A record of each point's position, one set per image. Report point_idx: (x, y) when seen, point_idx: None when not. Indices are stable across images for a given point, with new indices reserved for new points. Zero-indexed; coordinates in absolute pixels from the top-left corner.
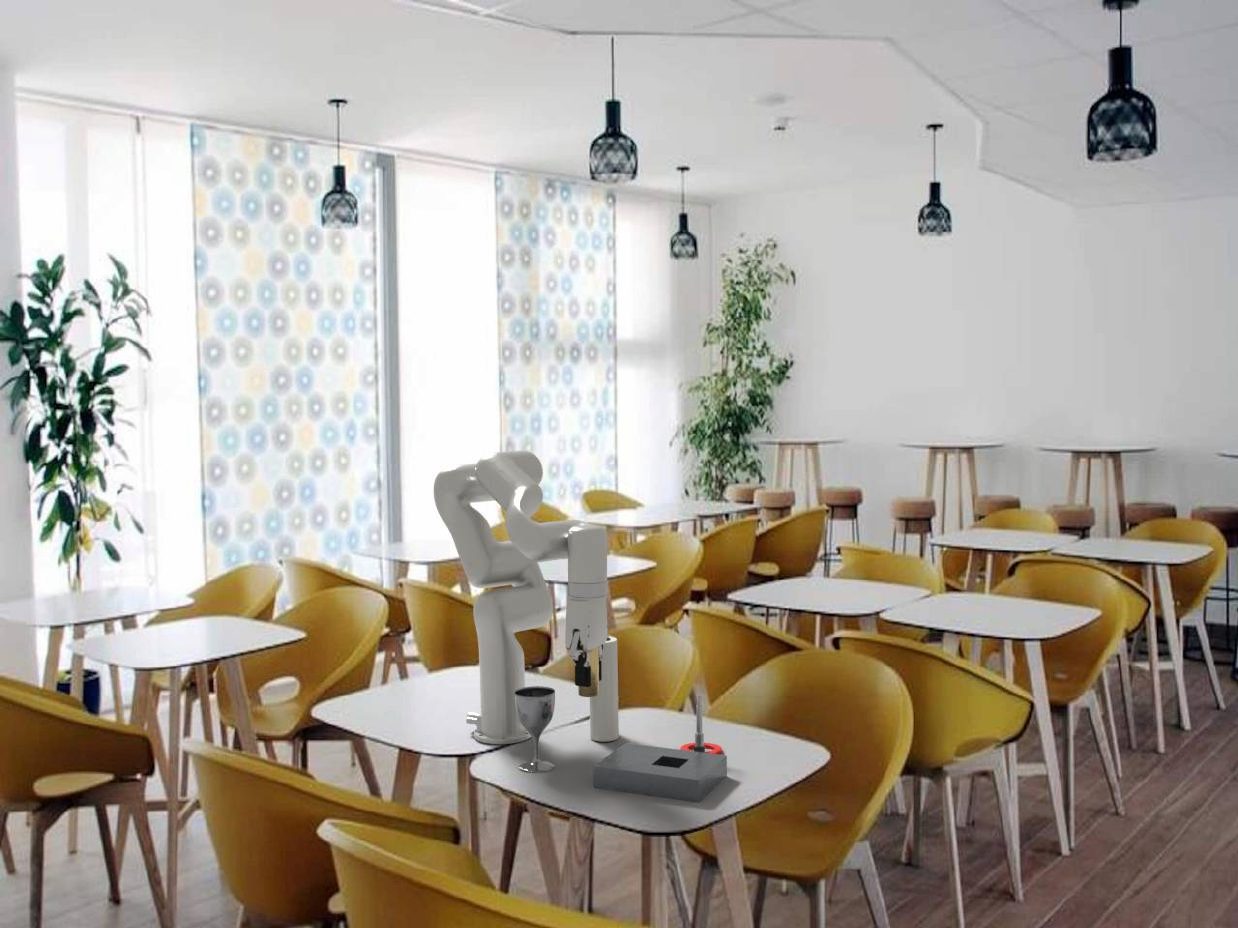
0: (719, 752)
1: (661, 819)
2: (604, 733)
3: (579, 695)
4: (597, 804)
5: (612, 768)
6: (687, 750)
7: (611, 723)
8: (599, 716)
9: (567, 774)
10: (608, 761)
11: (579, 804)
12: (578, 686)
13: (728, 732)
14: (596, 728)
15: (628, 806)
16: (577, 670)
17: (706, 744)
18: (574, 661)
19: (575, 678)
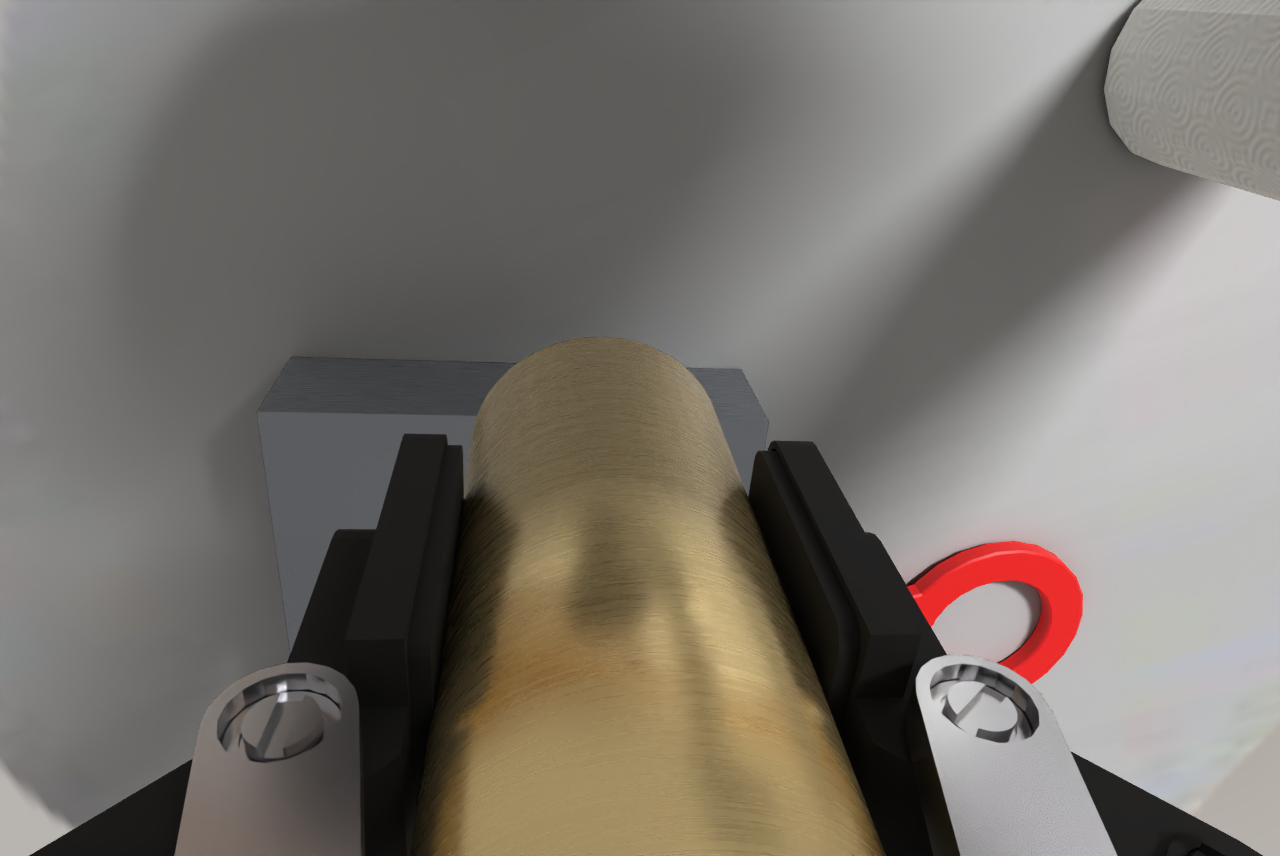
0: None
1: (75, 758)
2: (1138, 108)
3: (497, 382)
4: (65, 474)
5: (277, 527)
6: (932, 601)
7: (1197, 165)
8: (1229, 86)
9: (428, 116)
10: (388, 460)
11: (4, 393)
12: (516, 411)
13: (1273, 631)
14: (1169, 48)
15: (133, 604)
16: (296, 656)
17: (1049, 632)
18: (57, 849)
19: (391, 489)
